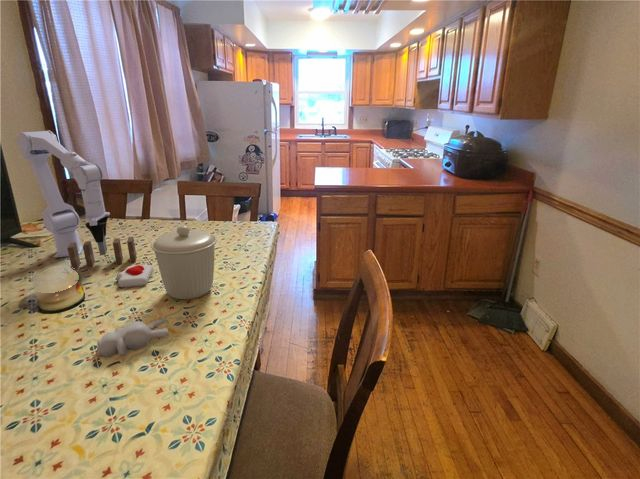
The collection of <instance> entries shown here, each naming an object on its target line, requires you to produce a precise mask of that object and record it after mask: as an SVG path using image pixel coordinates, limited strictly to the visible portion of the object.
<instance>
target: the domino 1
mask: <svg viewBox="0 0 640 479" xmlns="http://www.w3.org/2000/svg"><path fill="white" fill-rule="evenodd" d="M67 249H68V253H69V256H68V257H69V261H70V265H71V268H72V267H73V268H75V269H74V270H78V269H79V267H80V265H81V260H80V255H79V254H78V249H77V245H76V242H73V243H70V244H69V246H68V247H67Z"/></svg>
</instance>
